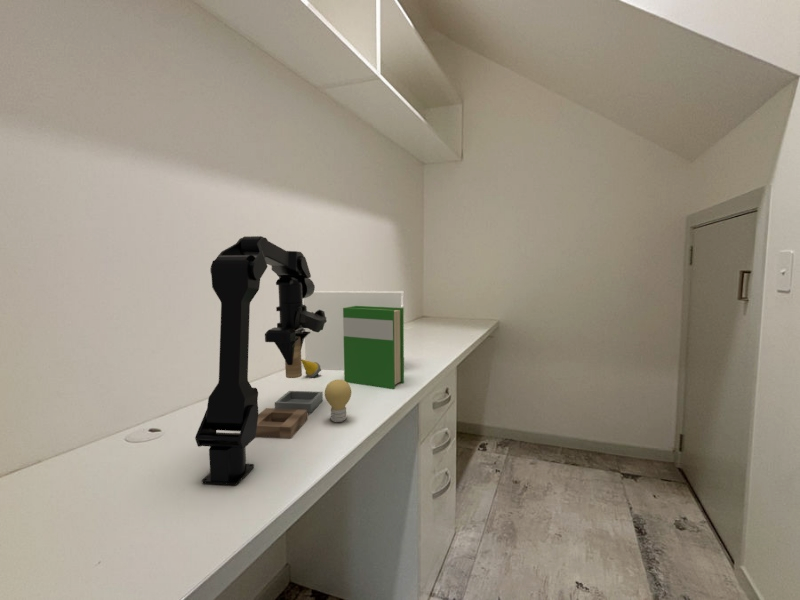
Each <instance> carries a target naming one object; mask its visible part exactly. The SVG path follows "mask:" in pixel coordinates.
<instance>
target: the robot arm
mask: <svg viewBox="0 0 800 600" xmlns="http://www.w3.org/2000/svg"><path fill="white" fill-rule="evenodd" d="M268 265H269V266H271V271H272V272H273V273H275V274H276V276H278V279H277V280H275V281H276V282H275V285H276V286H277V287H278V306H276V307H275V308H276V309H275V310H276V312H279V322H277V323H276V326H277V327H272V328H270V329H268V330H267V331H266V332H265V333H264V342H265V343H274V344H275V346H276V347H277V349H278V350H279V351H280V353H281V355H282V358H284V362H285V361H286V362H287V364H288V365H292V364H293V356H294V345H295V343H296V342H297V341H298V340H299V339H300V338H301V349H302V347H303V344H304V342H305V337H306V336H307V335H308V334H310V332H305V328H308V329H310V330H312V331H314V332H320V330H323V327H324V324H325V323H326V322H327V320H326V317H325V313H324V311H322V310H318V311H316V312H315V313H314V312H308V311H307V307H306V306H305V305H304V298H307V297H309V296H311V295H312V294H313V292H314V291H315V283H314V282H313V279H311V277H312V275H311V272H310V268H309V265H308V262H307V259H306V256H304V254H303V253H302V251H297V250H296V251H295V250H286V249H284V248H282V247H281V246H278V245H276V244H274V243H273V242H271V241H269V240H268V239H267V238H266V237H264V236H261V235H257V236H254V235H253V236H249V235H248V236H245V235H244V236H243V237H240V238H239V239H238V241H236V243H234V244H233V245H232V246H231V245H230V246H229V247H227V248H225V249H224V250H222V251H221V252H219V254H218V255H217V256H216V258H215V259H214V260H212V263H211V265H210V269H209V270H210V276H211V287H212V290H213V291H214V293H215V294H216V297H217V298H218V300H219V301H220V325H219V326H220V331H219V357H218V358H219V363H218V383H217V384H216V386H215V387H214V389H213V390H212V392H211V393H210V395H209V396H208V398H207V407H206V411H205V413H204V415H203V417H202V420H201V422H200V425H199V427H198V430H197V432H196V434H195V436H194V439H195V442H196V445H197V447H199V448H200V447H209V449H208V452H209V453H208V456H209V457H208V458H209V459H208V460H209V473H208V474H207V475H206V476H204V478H202V479H201V481H202V484H209V485H226V486H228V485H230V486H236V485H238V484H239V483H241V481H242V480H244V478H245V477H246V476H247V475H248V474H249V473H250V472H251V471H252V470H253V469H254V467H255V464H254V463H247V456H246V455H247V454H246V450H247V449H246V447H247V446H248V445H249V444H251V442H252V441H254V440H255V439H256V438H257V437H256V430H257V421H258V414H259V405H258V400H259V391H258V388H257V387H252V385H251V383H250V382H249V379H248V377H249V375H248V373H249V346H250V345H249V343H250V315H251V313H250V310H251V309H250V308H251V307H250V306H251V302H252V301H253V299H254V298H255V296H256V295H257V294H258V292H259V290H260V283H261V278H262V277H263V275H264V274H265V272H266V270H267V268H268ZM296 336H300V338H295V337H296ZM217 431H224V432H217ZM225 431H227V432H225ZM237 432H238V433H237ZM239 432H240V433H239Z"/></svg>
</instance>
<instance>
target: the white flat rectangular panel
mask: <svg viewBox="0 0 800 600" xmlns="http://www.w3.org/2000/svg"><path fill="white" fill-rule="evenodd" d="M303 305H305V306H306V307H307V311H308V312H314V313H315V312H316V311H318V310H322V311H324V313H325V317H326V320H327V322H326V323H325V324H324V327H323V330H320V332H314V331H312V330H310V329H308V328H304V329H305V332H310V334H308V335H307V336H306V337H305V338H304V350H305V351H304V354H305V355H304V356H305V357H304V360H306V361H310V362H317V363H318V364H319V365H320V369H321V371H343V372H344V330H343V308H346V307H352V306H371V307H393V308H403V316H405V291H404V290H314V292H313V294H312V295H311V296H309V297H307V298H303Z"/></svg>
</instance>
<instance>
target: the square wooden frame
mask: <svg viewBox="0 0 800 600" xmlns="http://www.w3.org/2000/svg"><path fill="white" fill-rule="evenodd" d="M307 421H308V413H307V410H302V409H275V407H274V408H271V407H268V408H267V407H266V408H264V409H263V410H262V411H261V412H260V413H258V421H257V430H256V437H255V438H276V439H278V438H279V439H292V437H294V436H295V435H296V434H297V432H298V431H299V430H300V429H301V427H302V426H304V424H305V423H306V422H307Z"/></svg>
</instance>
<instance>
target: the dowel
mask: <svg viewBox="0 0 800 600" xmlns="http://www.w3.org/2000/svg"><path fill="white" fill-rule="evenodd" d="M295 338H300V336H296V337H295ZM301 359H302V348H301V338H300V339H299V340H298V341H297V342H296V343H295V345H294V356H293V364H292V365H288V364H287V362H286V361H285V360H284V365H285V366H284V368H285V377H286V378H288V379H298V378H301V377H302V376H303V367H302V366H303V363H302V361H301Z"/></svg>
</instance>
